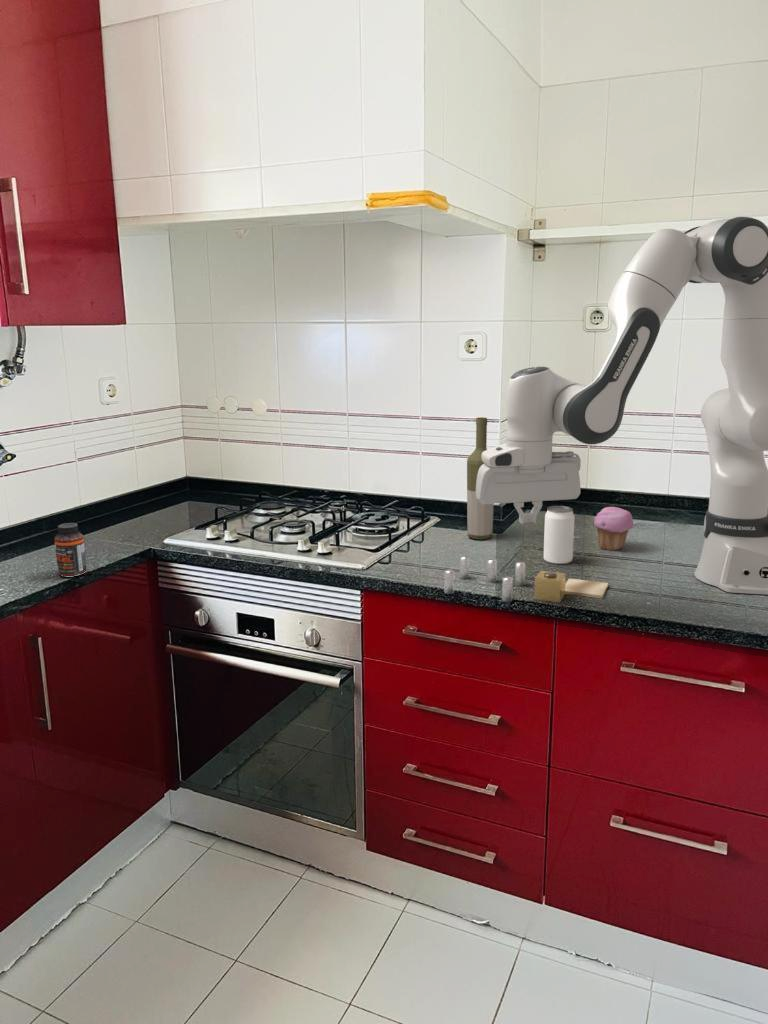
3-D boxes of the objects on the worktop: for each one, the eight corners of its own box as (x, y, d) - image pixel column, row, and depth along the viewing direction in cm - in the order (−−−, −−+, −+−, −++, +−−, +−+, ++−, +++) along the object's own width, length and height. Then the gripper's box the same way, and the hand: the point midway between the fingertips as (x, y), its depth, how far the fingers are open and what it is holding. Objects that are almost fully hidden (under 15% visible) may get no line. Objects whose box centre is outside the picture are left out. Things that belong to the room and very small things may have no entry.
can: (537, 558, 180) (539, 507, 177) (562, 554, 182) (564, 504, 179) (553, 566, 174) (555, 513, 171) (578, 562, 176) (580, 510, 173)
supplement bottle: (53, 578, 171) (47, 528, 168) (65, 570, 176) (59, 521, 174) (80, 578, 170) (74, 528, 168) (91, 570, 176) (86, 521, 173)
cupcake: (603, 541, 192) (605, 501, 190) (637, 547, 187) (640, 506, 185) (586, 549, 186) (588, 508, 183) (621, 555, 180) (624, 513, 178)
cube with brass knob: (564, 594, 157) (565, 571, 155) (559, 603, 152) (560, 579, 151) (539, 591, 158) (540, 569, 157) (534, 599, 154) (534, 576, 153)
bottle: (469, 532, 202) (470, 415, 194) (496, 534, 199) (498, 416, 192) (462, 540, 195) (464, 419, 188) (490, 542, 193) (493, 420, 186)
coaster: (608, 585, 161) (608, 582, 161) (602, 598, 154) (602, 595, 154) (568, 581, 164) (568, 578, 164) (561, 593, 157) (561, 590, 157)
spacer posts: (525, 583, 163) (526, 562, 162) (510, 602, 152) (511, 580, 151) (461, 575, 169) (461, 555, 168) (442, 593, 158) (442, 572, 157)
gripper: (574, 448, 155) (572, 515, 158) (473, 453, 152) (473, 522, 156) (587, 453, 149) (584, 523, 152) (481, 458, 146) (481, 530, 150)
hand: (527, 523), depth 154 cm, fingers closed
